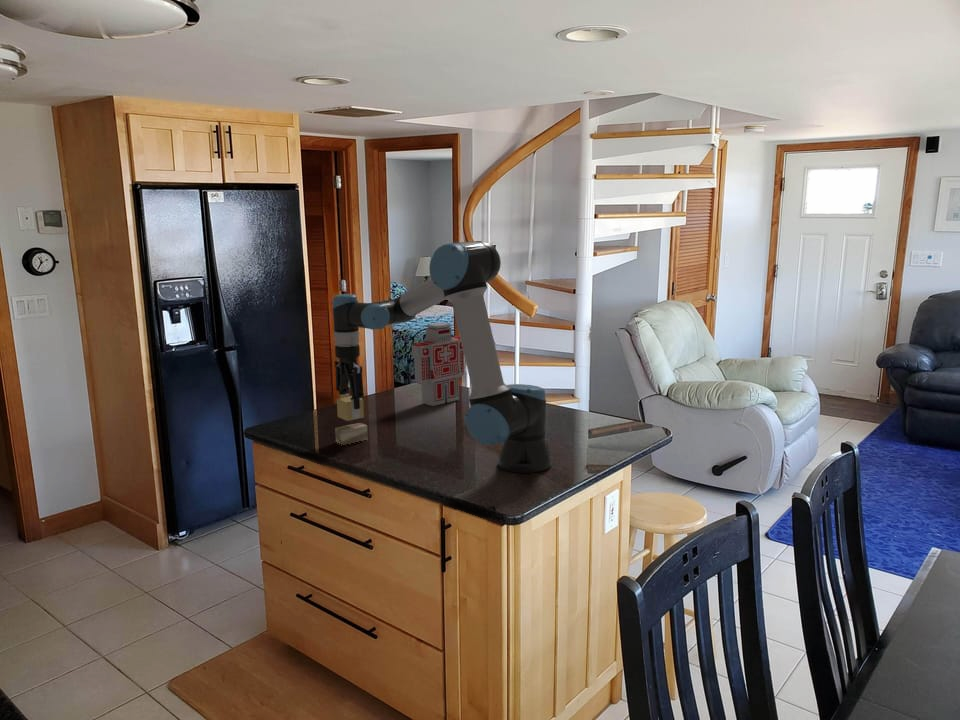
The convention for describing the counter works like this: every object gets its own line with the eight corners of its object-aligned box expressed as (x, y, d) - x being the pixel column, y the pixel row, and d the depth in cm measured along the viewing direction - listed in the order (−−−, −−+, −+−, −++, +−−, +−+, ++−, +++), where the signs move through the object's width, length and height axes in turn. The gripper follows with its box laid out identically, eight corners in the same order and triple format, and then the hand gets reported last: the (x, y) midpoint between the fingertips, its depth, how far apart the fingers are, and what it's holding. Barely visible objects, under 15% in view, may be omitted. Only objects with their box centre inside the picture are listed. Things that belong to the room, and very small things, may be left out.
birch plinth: (367, 440, 231) (367, 425, 230) (342, 446, 226) (341, 431, 224) (361, 437, 234) (360, 422, 233) (336, 443, 229) (335, 428, 228)
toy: (423, 409, 265) (420, 329, 259) (411, 405, 271) (408, 326, 265) (469, 398, 280) (468, 322, 274) (457, 395, 285) (455, 320, 279)
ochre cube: (363, 417, 228) (363, 399, 227) (347, 421, 224) (346, 402, 223) (354, 413, 233) (353, 395, 231) (337, 416, 229) (336, 398, 228)
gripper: (373, 347, 219) (376, 420, 223) (343, 338, 233) (346, 408, 238) (351, 350, 214) (355, 425, 219) (321, 341, 229) (326, 412, 233)
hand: (350, 416), depth 228 cm, fingers closed on ochre cube, 6 cm apart
